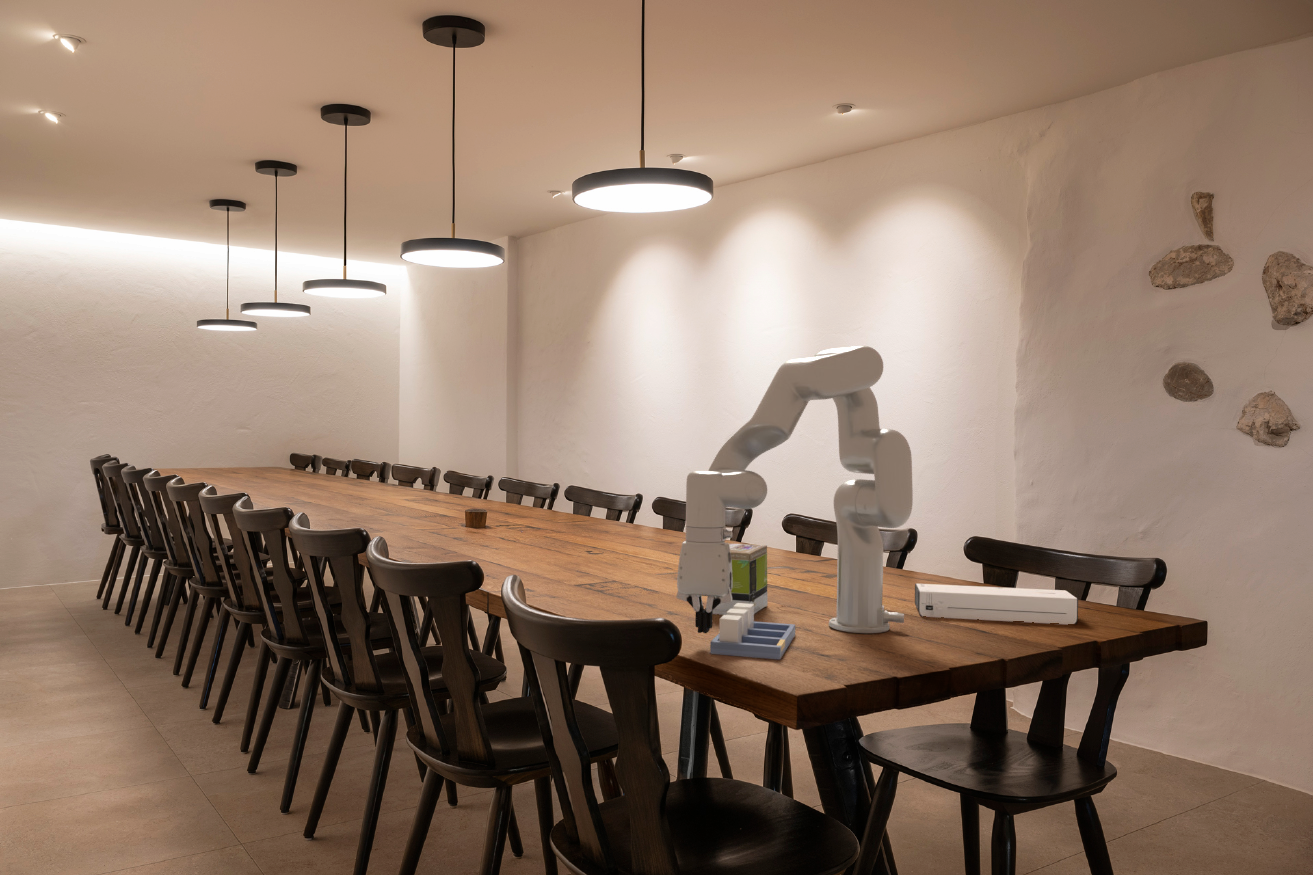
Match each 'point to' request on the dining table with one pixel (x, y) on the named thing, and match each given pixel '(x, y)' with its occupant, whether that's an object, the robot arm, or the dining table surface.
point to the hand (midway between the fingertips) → (703, 631)
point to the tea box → (747, 577)
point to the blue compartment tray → (758, 641)
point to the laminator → (996, 603)
